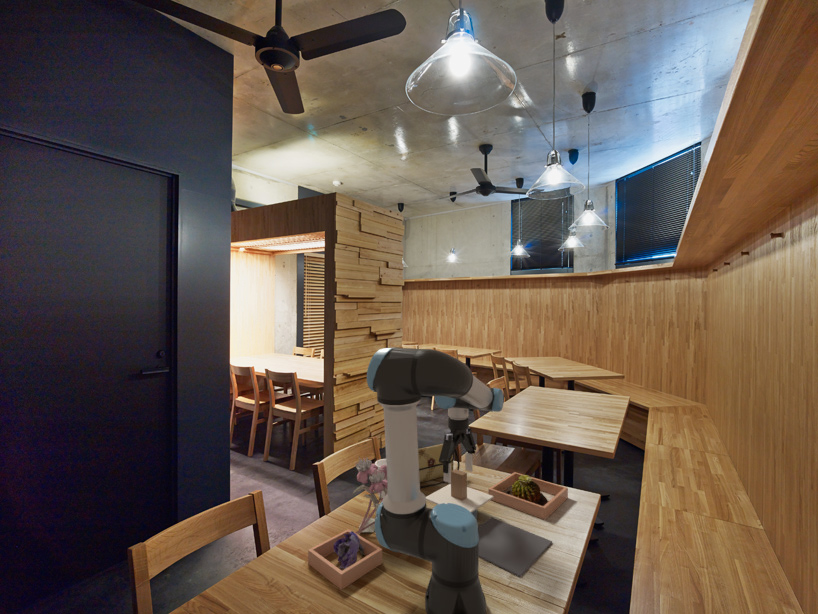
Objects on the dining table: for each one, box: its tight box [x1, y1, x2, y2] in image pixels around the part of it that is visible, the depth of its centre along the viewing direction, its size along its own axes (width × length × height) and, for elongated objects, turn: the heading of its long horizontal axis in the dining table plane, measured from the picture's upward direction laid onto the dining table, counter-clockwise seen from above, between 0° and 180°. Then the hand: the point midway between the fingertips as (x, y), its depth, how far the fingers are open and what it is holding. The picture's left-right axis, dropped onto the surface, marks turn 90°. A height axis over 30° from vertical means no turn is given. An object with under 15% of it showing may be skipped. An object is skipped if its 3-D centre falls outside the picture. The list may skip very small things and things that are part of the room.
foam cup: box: [374, 458, 386, 499], centre depth 156 cm, size 10×9×13 cm
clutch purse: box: [418, 442, 461, 489], centre depth 168 cm, size 30×7×15 cm, turn 121°
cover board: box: [425, 468, 493, 513], centre depth 140 cm, size 18×18×10 cm
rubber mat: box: [478, 516, 553, 578], centre depth 122 cm, size 22×22×1 cm
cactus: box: [505, 474, 549, 506], centre depth 151 cm, size 17×16×10 cm
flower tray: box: [307, 528, 383, 590], centre depth 113 cm, size 15×16×4 cm
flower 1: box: [333, 530, 364, 570], centre depth 114 cm, size 9×9×10 cm
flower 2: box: [352, 456, 388, 535], centre depth 129 cm, size 20×22×25 cm
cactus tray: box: [487, 471, 569, 520], centre depth 152 cm, size 22×23×4 cm
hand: (458, 476), depth 140 cm, fingers open, 13 cm apart
